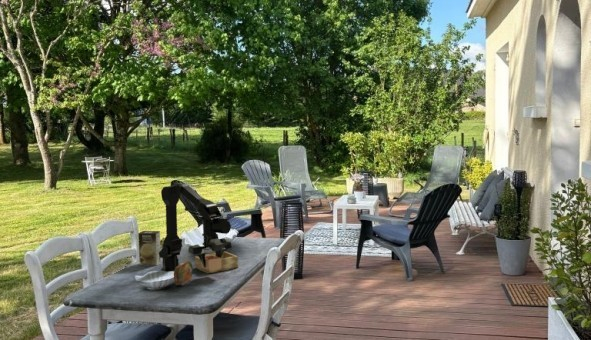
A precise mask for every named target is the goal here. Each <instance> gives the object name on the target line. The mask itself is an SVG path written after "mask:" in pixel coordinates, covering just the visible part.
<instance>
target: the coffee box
mask: <svg viewBox="0 0 591 340" xmlns="http://www.w3.org/2000/svg"><path fill="white" fill-rule="evenodd" d="M160 251H161V231H159V230H142V231H140V232H139V233H138V255H139V256H138V257H139V260H138V261H139V266H158V265H159V264H161V263H162V258H160V256H159V252H160Z"/></svg>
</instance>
